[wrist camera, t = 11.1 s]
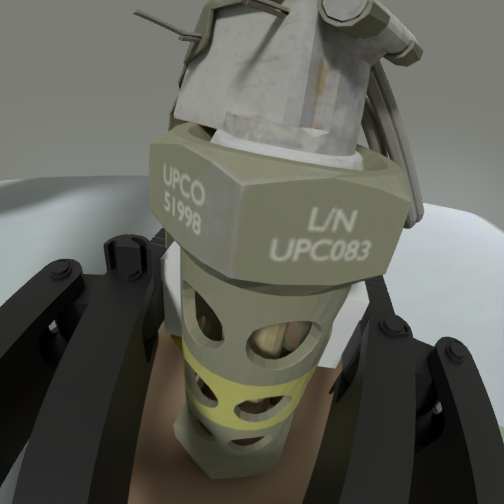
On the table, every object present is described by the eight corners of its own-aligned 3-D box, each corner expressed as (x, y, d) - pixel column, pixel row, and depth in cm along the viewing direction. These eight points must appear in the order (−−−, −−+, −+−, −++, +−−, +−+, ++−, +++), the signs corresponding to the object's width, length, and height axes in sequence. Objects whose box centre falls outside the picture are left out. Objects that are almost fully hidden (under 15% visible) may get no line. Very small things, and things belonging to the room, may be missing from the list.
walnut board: (42, 384, 13) (32, 369, 12) (239, 293, 23) (241, 277, 22) (224, 619, 4) (226, 627, 3) (414, 419, 14) (426, 407, 14)
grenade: (220, 508, 8) (348, -110, 1) (134, 398, 12) (97, 15, 5) (334, 417, 13) (479, 83, 5) (246, 341, 17) (296, 48, 9)
